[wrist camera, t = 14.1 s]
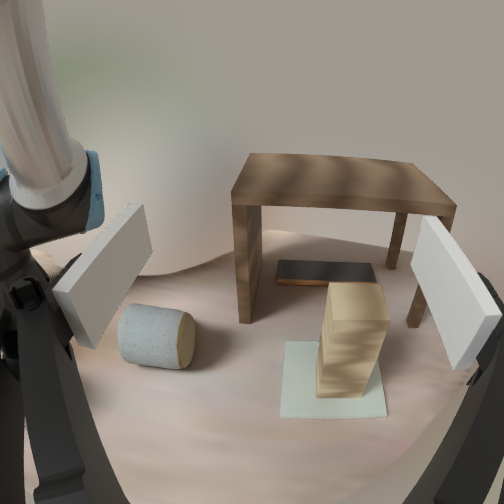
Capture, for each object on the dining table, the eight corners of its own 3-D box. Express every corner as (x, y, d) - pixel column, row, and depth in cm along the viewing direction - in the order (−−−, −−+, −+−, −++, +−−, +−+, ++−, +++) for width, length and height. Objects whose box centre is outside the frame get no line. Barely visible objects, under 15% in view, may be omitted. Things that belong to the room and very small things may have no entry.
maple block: (316, 398, 31) (333, 319, 25) (315, 363, 36) (329, 282, 29) (360, 397, 31) (390, 320, 24) (356, 363, 35) (379, 283, 29)
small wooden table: (239, 323, 42) (231, 191, 33) (253, 258, 56) (250, 153, 46) (417, 327, 40) (456, 205, 30) (393, 264, 53) (412, 163, 43)
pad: (279, 417, 30) (279, 416, 30) (284, 342, 39) (284, 340, 39) (386, 417, 29) (387, 415, 28) (373, 344, 38) (374, 342, 38)
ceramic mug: (190, 382, 34) (178, 338, 30) (128, 374, 35) (109, 331, 31) (204, 323, 43) (198, 279, 39) (151, 319, 43) (139, 277, 40)
